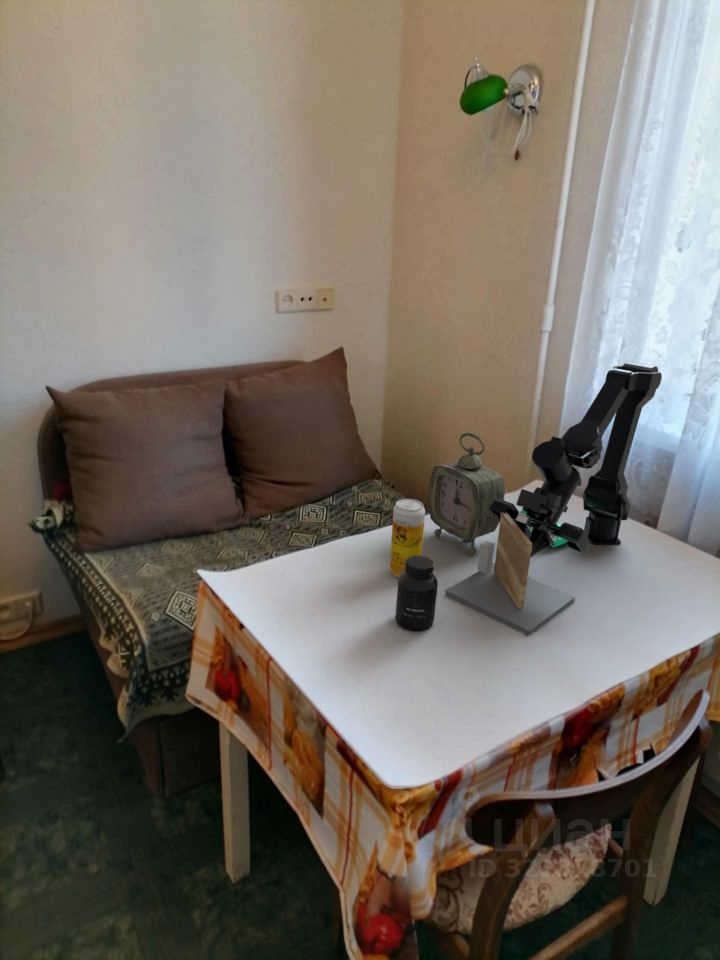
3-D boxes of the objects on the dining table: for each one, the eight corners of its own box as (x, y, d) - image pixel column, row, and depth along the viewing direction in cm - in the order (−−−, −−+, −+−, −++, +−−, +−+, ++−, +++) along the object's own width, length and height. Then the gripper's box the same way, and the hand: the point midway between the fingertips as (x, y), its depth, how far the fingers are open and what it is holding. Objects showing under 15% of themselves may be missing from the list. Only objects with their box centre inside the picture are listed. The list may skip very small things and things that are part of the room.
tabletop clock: (425, 534, 149) (434, 428, 140) (455, 525, 154) (464, 421, 145) (472, 561, 138) (484, 447, 129) (502, 550, 144) (515, 439, 134)
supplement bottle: (408, 637, 113) (412, 575, 108) (388, 616, 118) (391, 556, 114) (441, 627, 116) (447, 566, 111) (420, 607, 121) (425, 549, 117)
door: (498, 571, 132) (506, 511, 127) (523, 608, 120) (532, 543, 115) (493, 571, 132) (501, 512, 127) (517, 608, 120) (526, 543, 115)
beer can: (385, 576, 131) (389, 507, 126) (395, 563, 137) (399, 496, 131) (414, 583, 129) (420, 513, 124) (424, 569, 134) (429, 501, 129)
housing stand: (491, 566, 137) (495, 535, 134) (574, 601, 125) (579, 568, 122) (443, 593, 126) (446, 561, 123) (528, 635, 114) (534, 600, 112)
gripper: (499, 459, 127) (460, 528, 124) (591, 487, 115) (549, 565, 112) (517, 486, 135) (480, 552, 132) (605, 515, 123) (566, 589, 120)
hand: (516, 563), depth 124 cm, fingers closed
